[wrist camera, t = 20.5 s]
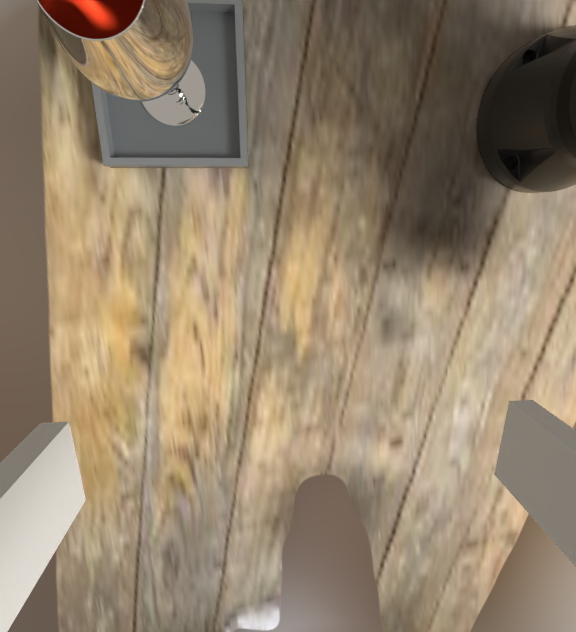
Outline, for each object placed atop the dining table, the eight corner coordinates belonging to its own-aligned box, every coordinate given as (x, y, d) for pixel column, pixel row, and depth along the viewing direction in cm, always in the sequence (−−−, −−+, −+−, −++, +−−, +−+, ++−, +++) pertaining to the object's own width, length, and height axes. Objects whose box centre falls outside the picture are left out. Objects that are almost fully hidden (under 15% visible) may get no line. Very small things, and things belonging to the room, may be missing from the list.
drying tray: (243, 8, 34) (242, -6, 31) (248, 168, 38) (248, 165, 36) (89, 2, 33) (77, -12, 30) (112, 167, 37) (103, 165, 35)
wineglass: (123, 37, 33) (-26, -149, 16) (212, 40, 33) (163, -136, 16) (134, 135, 35) (16, 67, 18) (218, 136, 36) (180, 70, 19)
